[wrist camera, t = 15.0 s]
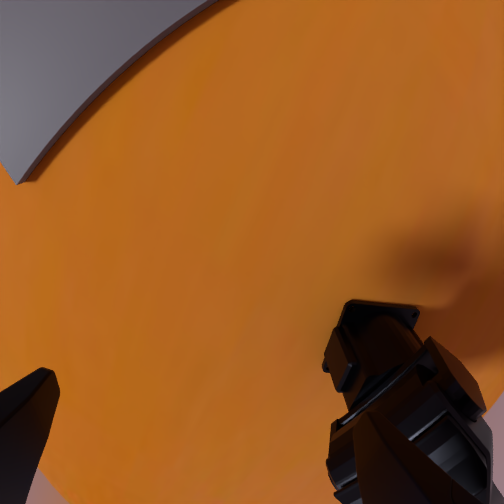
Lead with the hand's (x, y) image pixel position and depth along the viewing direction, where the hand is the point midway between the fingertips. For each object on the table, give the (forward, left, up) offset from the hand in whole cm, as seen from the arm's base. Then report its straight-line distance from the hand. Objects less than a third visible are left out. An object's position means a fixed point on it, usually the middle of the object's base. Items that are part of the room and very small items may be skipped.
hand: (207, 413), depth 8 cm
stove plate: (+12, -16, -13) cm, 24 cm away
